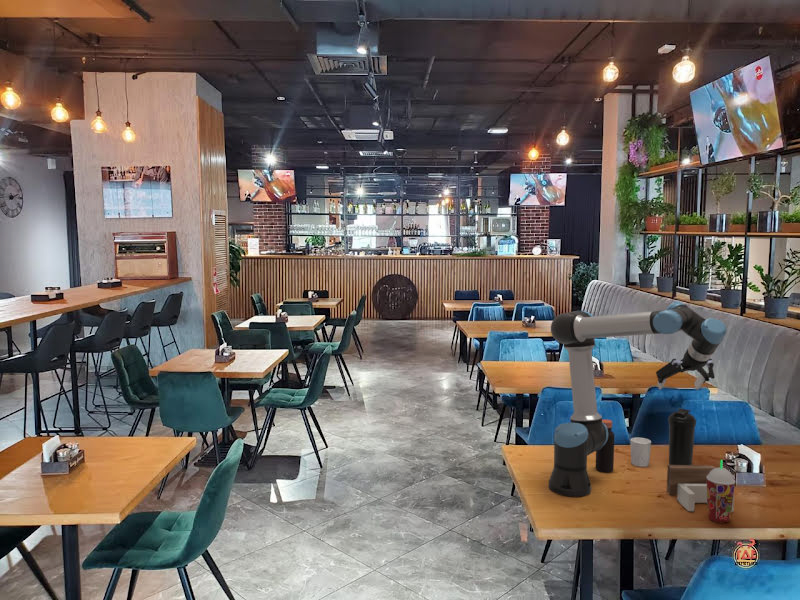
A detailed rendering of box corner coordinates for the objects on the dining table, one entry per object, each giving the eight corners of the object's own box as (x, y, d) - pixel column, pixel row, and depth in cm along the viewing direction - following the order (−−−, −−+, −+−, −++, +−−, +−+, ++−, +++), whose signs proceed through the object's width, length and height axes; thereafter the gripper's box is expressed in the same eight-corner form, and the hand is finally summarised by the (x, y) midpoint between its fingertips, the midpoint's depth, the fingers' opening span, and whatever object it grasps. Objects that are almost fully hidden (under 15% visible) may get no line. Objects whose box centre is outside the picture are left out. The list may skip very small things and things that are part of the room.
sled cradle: (733, 511, 205) (734, 494, 204) (688, 511, 205) (688, 493, 204) (720, 500, 213) (721, 484, 213) (677, 500, 214) (677, 483, 213)
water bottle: (697, 465, 248) (700, 410, 246) (689, 472, 240) (691, 415, 238) (671, 459, 255) (673, 406, 253) (662, 466, 247) (665, 410, 245)
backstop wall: (715, 495, 218) (716, 468, 218) (669, 494, 219) (671, 467, 218) (711, 492, 221) (712, 465, 221) (666, 491, 222) (667, 464, 221)
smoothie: (732, 527, 194) (735, 466, 192) (703, 521, 198) (706, 461, 196) (734, 517, 201) (737, 458, 199) (706, 511, 205) (708, 454, 203)
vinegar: (591, 469, 244) (593, 420, 242) (602, 465, 248) (603, 417, 246) (606, 474, 239) (608, 424, 237) (616, 470, 243) (618, 421, 241)
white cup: (653, 467, 246) (654, 443, 245) (633, 467, 246) (634, 443, 245) (646, 460, 254) (646, 437, 253) (626, 460, 254) (627, 437, 253)
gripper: (665, 362, 206) (646, 395, 222) (739, 362, 206) (714, 395, 222) (659, 344, 211) (641, 377, 227) (731, 344, 210) (708, 377, 227)
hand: (677, 386), depth 225 cm, fingers open, 13 cm apart
